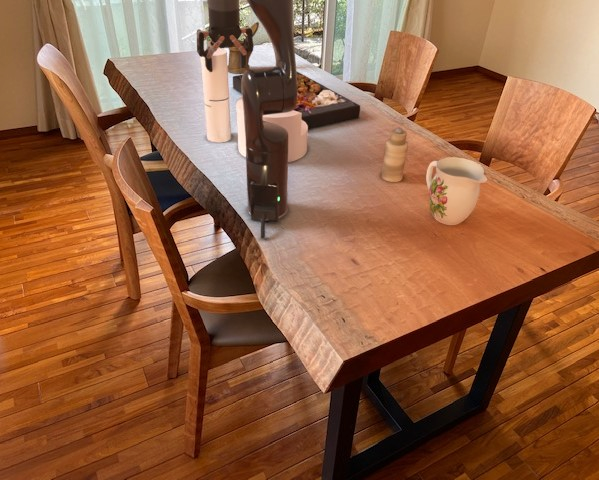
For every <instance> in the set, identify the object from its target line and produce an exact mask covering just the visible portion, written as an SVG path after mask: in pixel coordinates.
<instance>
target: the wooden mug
mask: <svg viewBox="0 0 599 480" xmlns="http://www.w3.org/2000/svg"><path fill="white" fill-rule="evenodd" d="M259 27H260V21H257V22H255V23H254V24H252V25H251V26H250V28H251V29H252V36H253V37H254V36H255V35H256V34H257V31H258V30H259ZM238 42H239V43H240V44H241V45H242V47H245V46H246V39H245V38H243V39H238ZM254 47H255V45H254V44H253V48H254ZM239 52H240V50H239V49H238V48H237V47H236V46H235V45H234V46H232V47H228V62H227V65H228V73H231V74H243V73H244V71H245V70H247V69H251V67H250V64H249V63H250V58H251V55H252V54H253V51H252V52H248V53H247V54H246V66H244V69H241V68H240V67H239Z"/></svg>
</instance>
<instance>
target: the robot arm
mask: <svg viewBox="0 0 599 480" xmlns="http://www.w3.org/2000/svg"><path fill="white" fill-rule="evenodd" d="M246 1H247V3H248V5H249V7H250V9H251V10H252V12H253V13H254V15H255V16H256V19H257V20H258V22H259V23H260V24H261V25H262V27H263V29H264V30H265V32H266V35H267V36H268V38H269V39H270V43H271V45H272V49H273V52H274V58H275V59H274V60H275V66H264V67H263V66H262V67H250V69H247V70H245V71H244V73H242V75H243V76H242V84H241V88H242V94H241V97H242V100H243V111H244V127H245V138H246V158H245V165H246V166H245V167H246V195H247V196H246V197H247V209H246V210H247V211H246V212H247V214H248V215H249V216H250V220H251V221H259V222H261V223H260V238H261V240H264V239H265V237H266V232H265V231H266V222H271V223H272V222H273V223H278V222H279V220H281V219H283V218H284V217H285V216H286V215H287V213H288V183H289V181H288V180H289V179H288V178H289V175H288V172H289V162H288V140H289V136H288V132H287V130H286V129H285V128H284V127H282V126H280V125H277V124H274V123H270V122H266V121H264V120H263V115H270V114H278V113H286V112H291V111H293V110H294V108H295V106H296V103H297V95H298V87H297V72H298V71H297V65H296V64H297V62H296V50H295V49H296V48H295V36H294V0H246ZM206 2H207V10H208V26H209V27H208V30H201V29H196V52H197V54H198V55H199V57H200V58H201V57H205V66H206V68H207V70H209V72H213V70H212V58H211V56H212V55H213V53H214V52H216V50H217V49H218V48H219V49H225V48H229V47H232V46H234V45H235V46H236V47H237V48H238V49H239V50H240V52H239V67H240V68H241V69H244V66H246V54H247V53H248V52H252V53H253V52H254V47H253V45H254V36H252V29H251V26H249V25H245V26H244V27H241V23H240V22H241V21H240V0H207V1H206ZM241 35H243V37H244V39H246V46H245V47H242V45H241V44H240V43H239V42H238V40H240V37H241ZM208 37H209V38H210V41H209V42H208V43H207V46H206V47H205V41H206V40H207V38H208ZM204 49H206V50H204ZM296 71H297V72H296Z"/></svg>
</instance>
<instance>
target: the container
mask: <svg viewBox="0 0 599 480" xmlns="http://www.w3.org/2000/svg"><path fill="white" fill-rule="evenodd" d="M235 106H236V127H237V150H238V152H239V154H240V155H241V156H242V157H244V158H245V159H246V138H245V127H244V111H243V100H242V96H241V97H240V98H239V99H238V100H237V101H236V105H235ZM301 116H302V113H300V112H297V111H294V110H293V111H291V112H286V113H278V114H270V115H263V120H264V121H266V122H270V123H274V124H277V125H280V126H282V127H284V128H285V129H286V130H287V132H288V136H289V140H288V163H291V162H295V161H297V160H300V159H302V158H303V157H304V156H305V155H306V153H307V151H308V134H309V130H308V125H307V124H306V122H304V121H303V120H302V119H301Z"/></svg>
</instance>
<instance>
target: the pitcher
mask: <svg viewBox="0 0 599 480" xmlns="http://www.w3.org/2000/svg"><path fill="white" fill-rule="evenodd" d="M434 169H435V170H436V171H435V174H434V176H433V171H434ZM425 180H426V185H427V189H428V205H429V210H430V213H431V214H432V217H433V218H434V219H435V221H437V222H439V223H441V224H443V225H447V226H456V225H459V224H461V223H462V222H464V221H465V220H466V219H467V218H468V217H469V216H470V215H471V214H472V212H473V211H474V210H475V207H476V205H477V203H478V200H479V198H480V193H481V184H484V183H487V182H488V177H487V176H486V175H485V168H484V167H483V166H482V165H481V164H479V163H478V162H476V161H474V160H472V159H468V158H464V157H456V156H449V157H448V156H447V157H443V158H441V159H439V160H433V161H432V162H430V163H429V165H428V167H427V170H426V176H425Z"/></svg>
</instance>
